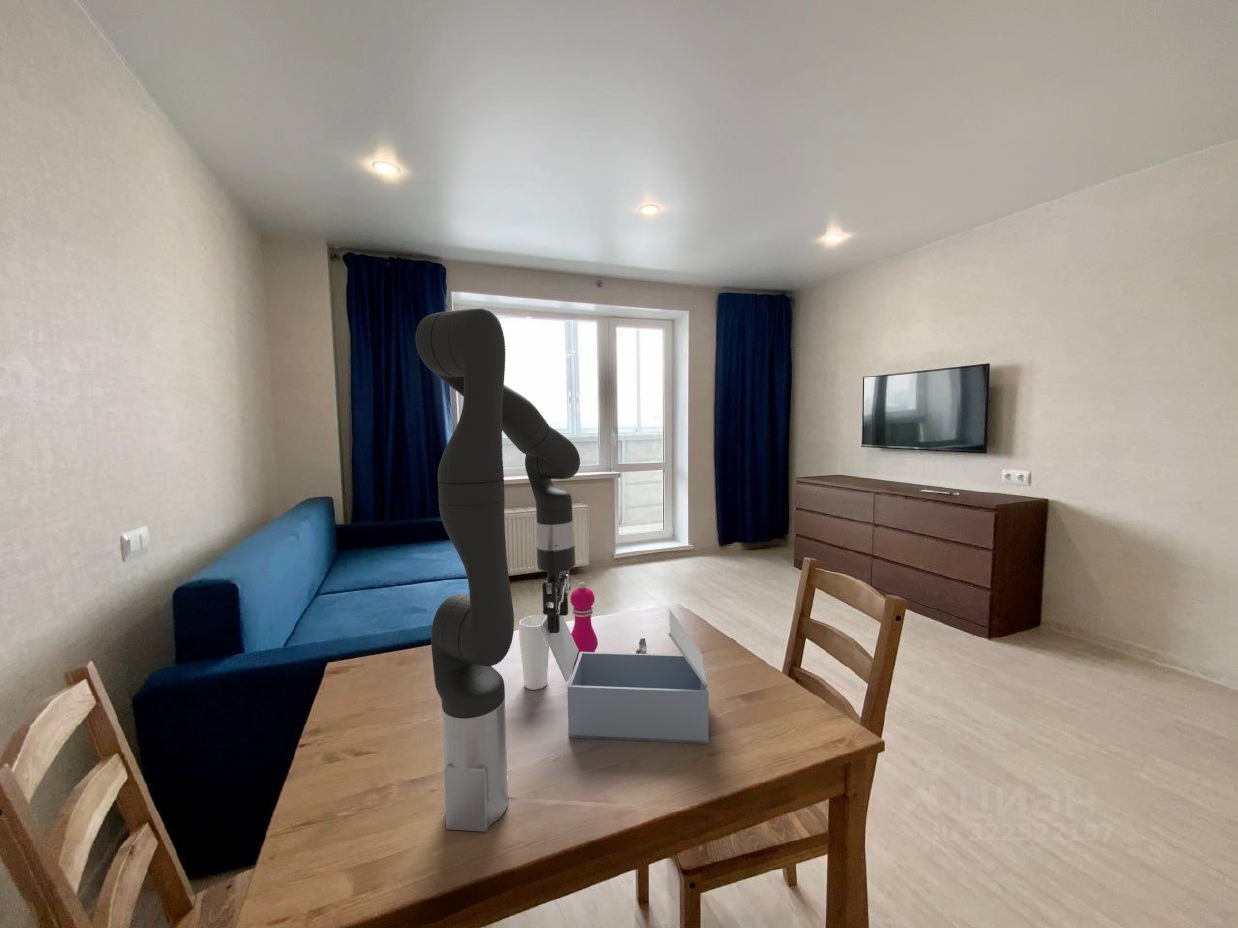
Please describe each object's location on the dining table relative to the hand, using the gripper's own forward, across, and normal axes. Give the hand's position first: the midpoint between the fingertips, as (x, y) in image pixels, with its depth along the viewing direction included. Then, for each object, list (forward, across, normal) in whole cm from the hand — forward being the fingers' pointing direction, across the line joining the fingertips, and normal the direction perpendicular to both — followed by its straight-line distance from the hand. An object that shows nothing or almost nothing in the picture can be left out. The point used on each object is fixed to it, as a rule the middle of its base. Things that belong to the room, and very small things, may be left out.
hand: (558, 623), depth 97 cm
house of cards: (+20, +20, -18) cm, 34 cm away
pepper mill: (+19, +23, -1) cm, 30 cm away
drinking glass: (+19, +11, +8) cm, 24 cm away
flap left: (+9, 0, -3) cm, 10 cm away
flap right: (+10, 0, -29) cm, 30 cm away
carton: (+19, 0, -16) cm, 25 cm away
